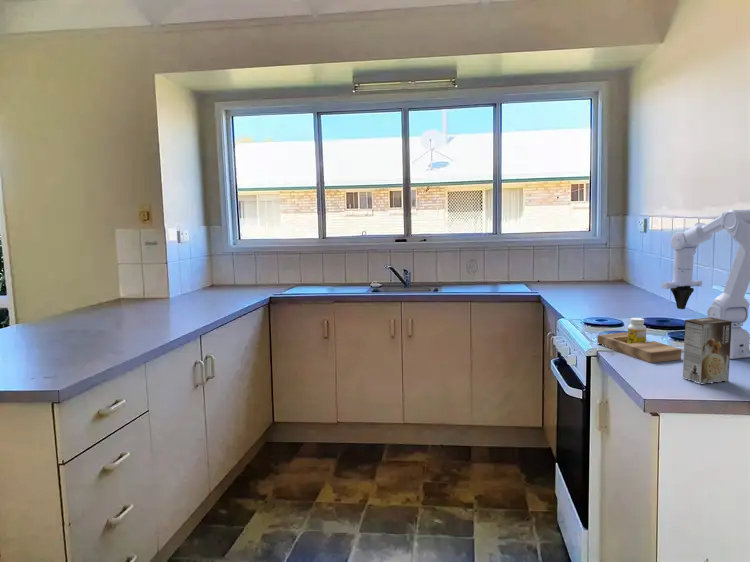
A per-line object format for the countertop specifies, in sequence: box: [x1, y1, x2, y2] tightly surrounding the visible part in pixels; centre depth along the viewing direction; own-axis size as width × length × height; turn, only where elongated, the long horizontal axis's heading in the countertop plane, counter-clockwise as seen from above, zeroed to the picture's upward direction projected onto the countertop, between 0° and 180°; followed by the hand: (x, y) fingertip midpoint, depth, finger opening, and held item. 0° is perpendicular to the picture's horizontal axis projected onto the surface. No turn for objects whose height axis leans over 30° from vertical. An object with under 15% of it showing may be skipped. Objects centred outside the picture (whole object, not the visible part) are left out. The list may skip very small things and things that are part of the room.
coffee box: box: [682, 317, 732, 384], centre depth 154 cm, size 9×6×16 cm
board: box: [596, 331, 682, 364], centre depth 185 cm, size 24×11×3 cm, turn 17°
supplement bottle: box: [627, 317, 647, 344], centre depth 188 cm, size 5×5×10 cm
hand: (680, 308), depth 198 cm, fingers closed
